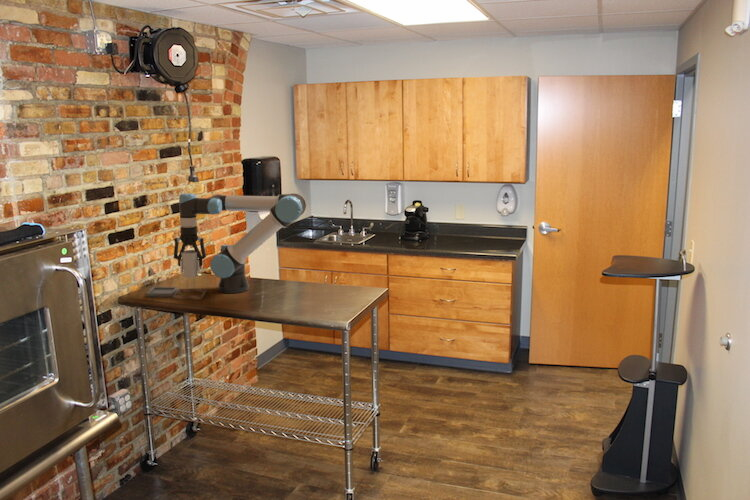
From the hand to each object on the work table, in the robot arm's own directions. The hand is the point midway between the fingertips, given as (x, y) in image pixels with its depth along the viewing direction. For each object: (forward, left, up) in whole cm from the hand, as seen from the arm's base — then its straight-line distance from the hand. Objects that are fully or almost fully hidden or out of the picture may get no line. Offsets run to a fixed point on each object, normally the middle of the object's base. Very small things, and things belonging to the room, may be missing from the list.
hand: (190, 272), depth 296 cm
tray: (+14, -3, -11) cm, 19 cm away
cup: (0, 0, -2) cm, 2 cm away
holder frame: (0, 0, -11) cm, 11 cm away
